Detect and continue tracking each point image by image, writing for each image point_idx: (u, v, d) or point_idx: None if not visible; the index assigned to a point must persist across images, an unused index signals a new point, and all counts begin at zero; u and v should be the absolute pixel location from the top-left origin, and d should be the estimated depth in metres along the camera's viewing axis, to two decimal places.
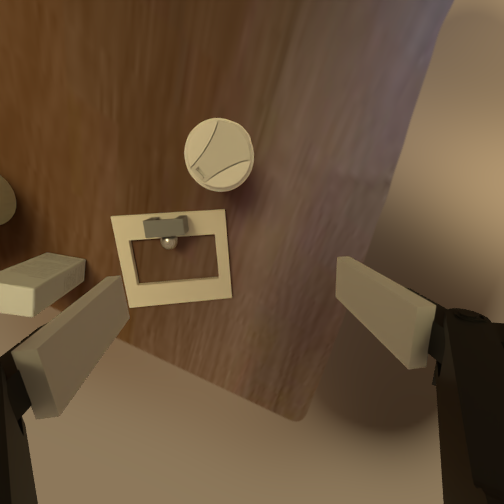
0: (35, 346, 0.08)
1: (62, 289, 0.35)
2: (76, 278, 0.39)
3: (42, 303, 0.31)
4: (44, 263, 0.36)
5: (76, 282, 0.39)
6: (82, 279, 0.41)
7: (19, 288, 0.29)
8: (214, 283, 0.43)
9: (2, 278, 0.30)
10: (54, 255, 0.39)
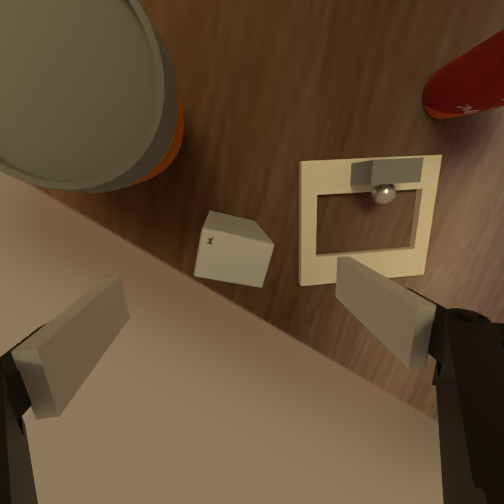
0: (35, 346, 0.08)
1: None
2: None
3: None
4: (229, 219, 0.26)
5: None
6: None
7: (255, 243, 0.19)
8: (407, 255, 0.34)
9: (223, 229, 0.20)
10: (222, 213, 0.29)
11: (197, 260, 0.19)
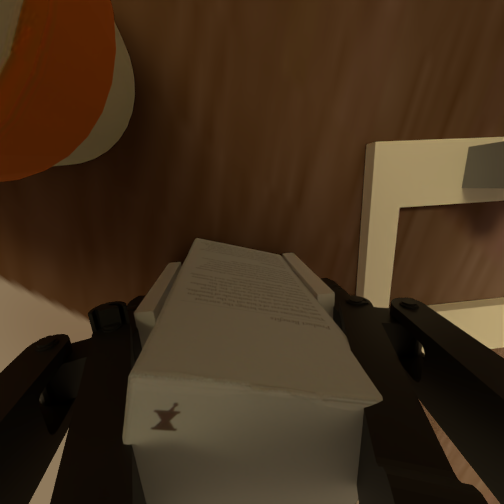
0: (149, 309, 0.10)
1: None
2: None
3: None
4: (235, 265, 0.12)
5: None
6: None
7: (339, 411, 0.05)
8: None
9: (219, 346, 0.06)
10: (220, 245, 0.15)
11: None
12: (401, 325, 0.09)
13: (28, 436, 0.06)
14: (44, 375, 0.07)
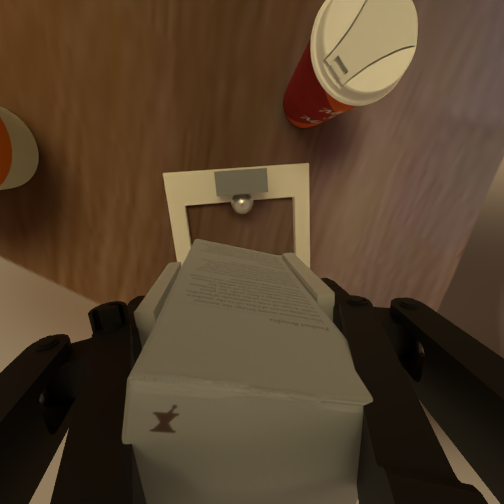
0: (149, 309, 0.10)
1: None
2: None
3: None
4: (234, 266, 0.12)
5: None
6: None
7: (337, 413, 0.05)
8: None
9: (218, 349, 0.06)
10: (220, 245, 0.15)
11: None
12: (401, 325, 0.09)
13: (28, 436, 0.06)
14: (44, 375, 0.07)
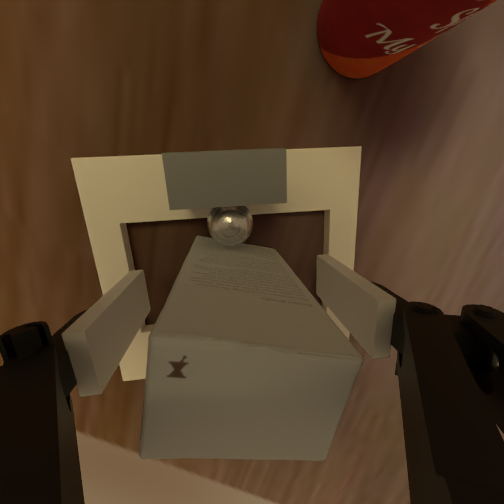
0: (81, 329, 0.09)
1: None
2: None
3: None
4: (232, 258, 0.13)
5: None
6: None
7: (311, 362, 0.07)
8: None
9: (217, 317, 0.07)
10: None
11: (144, 421, 0.07)
12: None
13: None
14: None
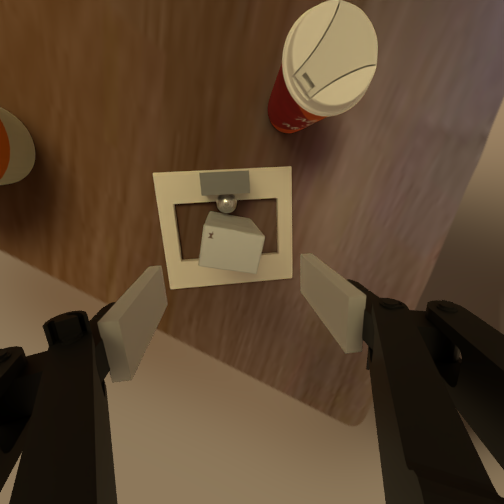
0: (115, 319, 0.09)
1: None
2: None
3: None
4: (227, 218, 0.30)
5: None
6: None
7: (248, 236, 0.23)
8: (272, 260, 0.36)
9: (221, 225, 0.24)
10: (221, 213, 0.33)
11: (201, 252, 0.23)
12: None
13: None
14: None
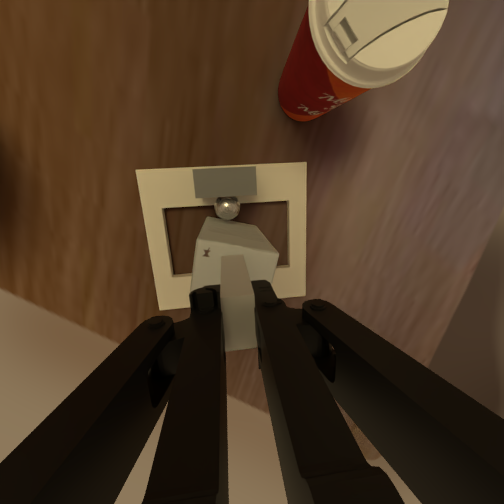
0: (232, 295, 0.11)
1: None
2: None
3: None
4: (228, 226, 0.24)
5: None
6: None
7: (257, 253, 0.17)
8: (282, 274, 0.30)
9: (221, 238, 0.18)
10: (220, 219, 0.27)
11: (193, 275, 0.17)
12: (307, 326, 0.09)
13: (137, 407, 0.07)
14: (152, 353, 0.08)
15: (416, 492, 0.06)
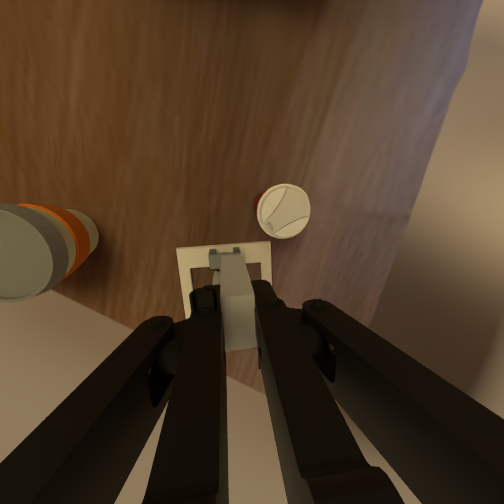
0: (232, 295, 0.11)
1: None
2: None
3: None
4: None
5: None
6: None
7: None
8: None
9: None
10: None
11: None
12: (306, 326, 0.09)
13: (137, 407, 0.07)
14: (152, 353, 0.08)
15: (415, 492, 0.06)
